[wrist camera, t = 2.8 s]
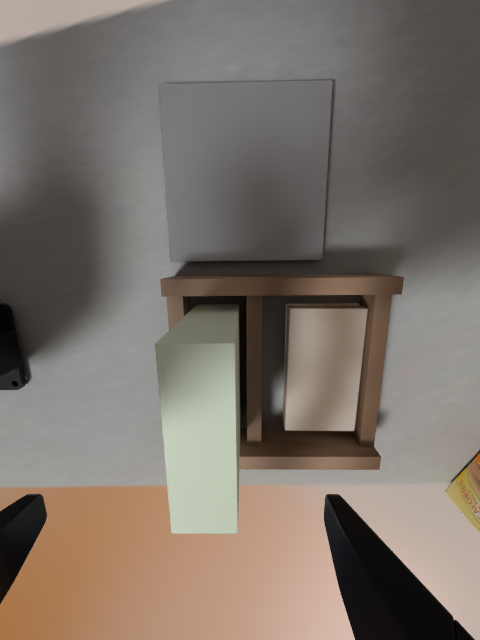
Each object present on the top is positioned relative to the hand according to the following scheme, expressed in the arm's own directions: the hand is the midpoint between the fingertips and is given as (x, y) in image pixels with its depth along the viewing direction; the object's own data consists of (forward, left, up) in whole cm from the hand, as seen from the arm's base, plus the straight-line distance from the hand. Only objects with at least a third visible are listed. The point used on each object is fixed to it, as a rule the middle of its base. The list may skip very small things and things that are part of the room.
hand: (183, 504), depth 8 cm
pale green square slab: (0, 0, -12) cm, 12 cm away
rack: (+4, 0, -12) cm, 12 cm away
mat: (+2, +12, -12) cm, 17 cm away
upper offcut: (+7, 0, -11) cm, 14 cm away
